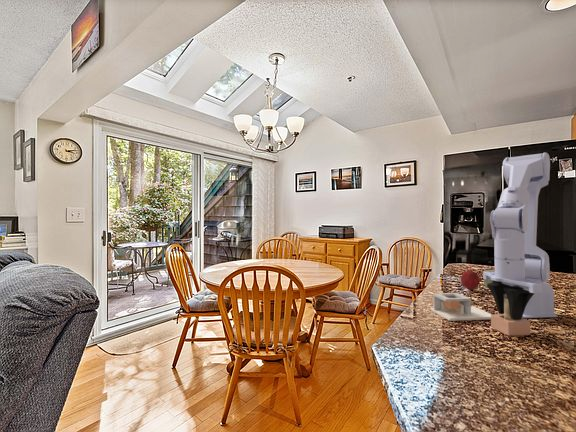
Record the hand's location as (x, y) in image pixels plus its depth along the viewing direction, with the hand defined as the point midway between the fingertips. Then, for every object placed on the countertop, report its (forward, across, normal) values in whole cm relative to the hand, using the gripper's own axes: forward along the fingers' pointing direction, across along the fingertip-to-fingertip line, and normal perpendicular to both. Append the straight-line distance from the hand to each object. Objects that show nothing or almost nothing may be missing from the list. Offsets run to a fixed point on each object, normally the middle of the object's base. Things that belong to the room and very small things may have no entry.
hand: (509, 316), depth 69 cm
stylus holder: (+3, 0, 0) cm, 3 cm away
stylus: (+3, 0, 0) cm, 3 cm away
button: (+1, -12, -7) cm, 14 cm away
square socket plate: (+3, -12, -3) cm, 13 cm away
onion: (+4, -36, +16) cm, 40 cm away
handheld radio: (+4, -29, +24) cm, 38 cm away
